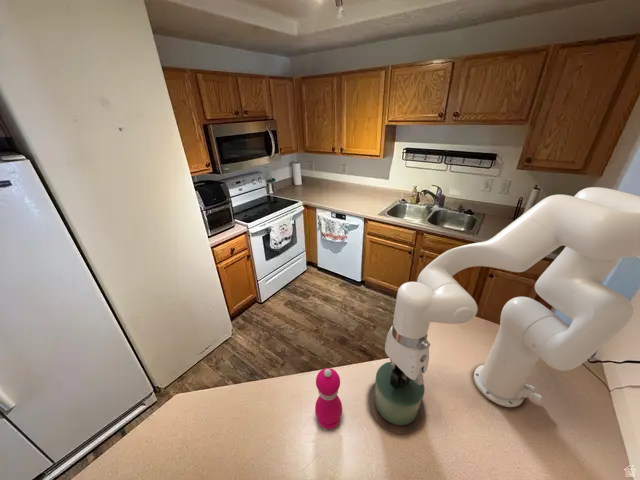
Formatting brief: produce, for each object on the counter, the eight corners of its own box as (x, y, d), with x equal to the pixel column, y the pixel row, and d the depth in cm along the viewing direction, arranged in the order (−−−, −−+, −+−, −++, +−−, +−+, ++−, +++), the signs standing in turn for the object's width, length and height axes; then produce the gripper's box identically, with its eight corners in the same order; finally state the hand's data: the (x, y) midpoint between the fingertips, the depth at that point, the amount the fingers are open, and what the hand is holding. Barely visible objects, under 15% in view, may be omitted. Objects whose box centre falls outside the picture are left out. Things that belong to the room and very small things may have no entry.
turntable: (428, 394, 75) (428, 391, 75) (417, 447, 64) (417, 444, 64) (378, 371, 82) (378, 368, 82) (360, 415, 71) (360, 413, 70)
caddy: (428, 404, 72) (438, 370, 64) (400, 437, 65) (408, 402, 58) (391, 372, 80) (397, 339, 73) (364, 398, 74) (367, 364, 66)
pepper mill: (340, 434, 67) (340, 388, 58) (313, 428, 69) (309, 382, 59) (343, 405, 73) (344, 359, 64) (318, 401, 75) (316, 355, 65)
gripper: (450, 348, 55) (434, 399, 64) (395, 305, 67) (389, 352, 76) (426, 365, 52) (413, 416, 60) (373, 316, 64) (369, 365, 72)
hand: (399, 380), depth 68 cm, fingers closed
